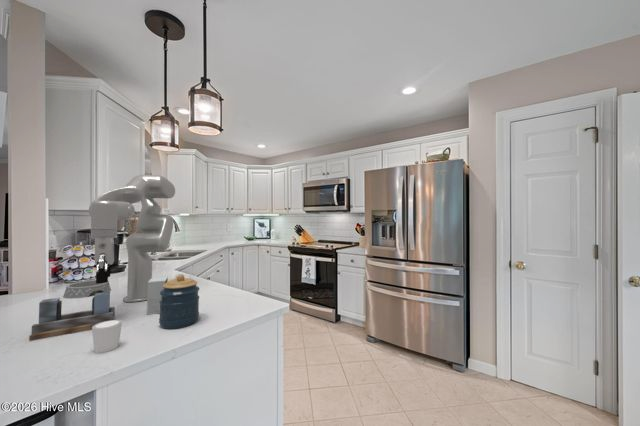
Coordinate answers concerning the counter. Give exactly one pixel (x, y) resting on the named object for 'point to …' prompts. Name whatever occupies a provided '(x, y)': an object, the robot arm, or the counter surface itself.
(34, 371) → the counter surface
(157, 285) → the small box
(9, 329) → the counter surface
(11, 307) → the counter surface
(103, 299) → the blue-grey block
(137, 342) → the counter surface
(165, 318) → the canister
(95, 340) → the white cup
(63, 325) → the rail
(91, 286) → the dog bowl
